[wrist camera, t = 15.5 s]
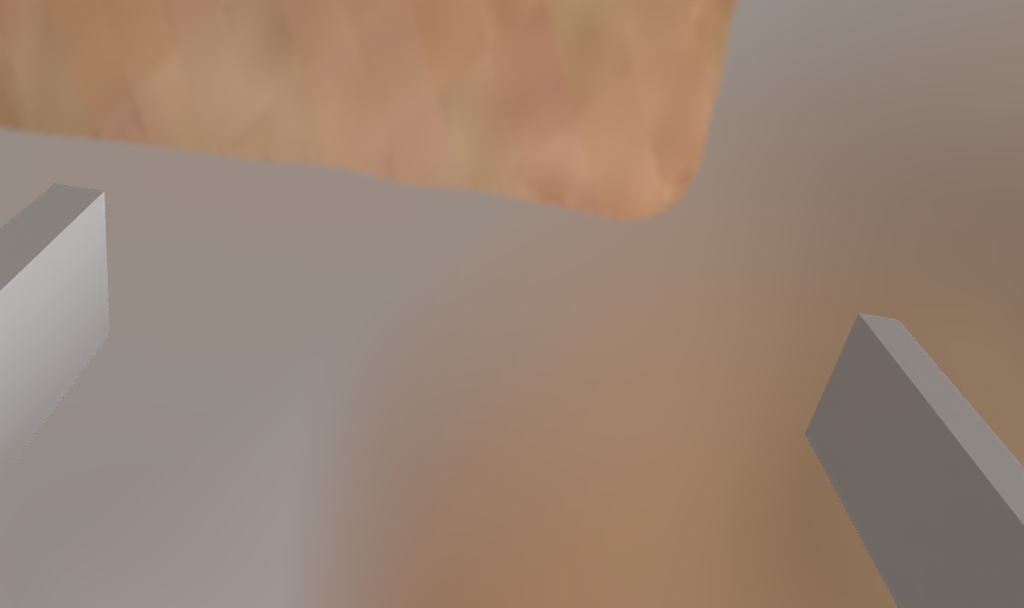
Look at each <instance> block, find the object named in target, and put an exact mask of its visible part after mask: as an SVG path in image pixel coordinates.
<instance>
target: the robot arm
mask: <svg viewBox="0 0 1024 608" xmlns="http://www.w3.org/2000/svg"><path fill="white" fill-rule="evenodd" d="M104 199H105V198H104V191H99V190H93V189H87V188H80V187H74V186H68V185H61V184H54V185H52V186H51V187H50V188H49V189H48V190H46V191H45V192H44V193H43V194H42V195H40V196H39V197H38V198H37V199H36V200H34V201H33V202H32V203H31V204H30V205H28V206H27V207H26V208H25V209H24V210H22V211H21V212H20V213H19V214H17V215H16V216H15V217H14V218H13V219H11V220H10V221H9V222H8V223H7V224H5V225H4V226H3V227H2V228H1V229H0V482H1V481H2V480H3V478H4V477H5V476H6V474H7V473H8V472H9V470H10V469H11V468H12V466H13V465H14V464H15V462H16V461H17V459H18V458H19V457H20V455H21V454H22V453H23V451H24V450H25V448H26V447H27V446H28V444H29V443H30V442H31V441H32V439H33V438H34V436H35V435H36V434H37V432H38V431H39V430H40V428H41V427H42V426H43V424H44V423H45V422H46V420H47V419H48V417H49V416H50V415H51V413H52V412H53V411H54V409H55V408H56V407H57V405H58V404H59V403H60V401H61V400H62V398H63V397H64V396H65V394H66V393H67V392H68V390H69V389H70V388H71V386H72V385H73V383H74V382H75V381H76V380H77V378H78V377H79V375H80V374H81V373H82V371H83V370H84V369H85V367H86V366H87V365H88V363H89V362H90V361H91V359H92V358H93V356H94V355H95V354H96V352H97V351H98V350H99V348H100V347H101V346H102V344H103V343H104V342H105V340H106V339H107V338H108V336H109V335H110V334H109V310H108V309H109V306H108V281H107V252H106V225H105V200H104ZM805 435H806V436H807V438H808V440H809V442H810V444H811V446H812V448H813V450H814V451H815V453H816V455H817V457H818V459H819V461H820V463H821V464H822V466H823V468H824V470H825V472H826V474H827V476H828V478H829V480H830V481H831V483H832V485H833V487H834V489H835V491H836V493H837V494H838V496H839V498H840V500H841V502H842V504H843V506H844V508H845V510H846V511H847V513H848V515H849V517H850V519H851V521H852V523H853V525H854V526H855V528H856V530H857V532H858V534H859V536H860V538H861V539H862V541H863V543H864V545H865V547H866V549H867V550H868V553H869V555H870V556H871V558H872V560H873V562H874V564H875V566H876V568H877V569H878V571H879V573H880V575H881V577H882V579H883V581H884V582H885V584H886V586H887V588H888V590H889V592H890V594H891V596H892V597H893V599H894V601H895V603H896V605H897V607H898V608H1024V467H1023V466H1022V465H1021V464H1020V463H1019V462H1018V460H1017V459H1016V458H1015V457H1014V456H1013V454H1012V453H1011V452H1010V451H1009V450H1008V448H1007V447H1006V446H1005V445H1004V444H1003V443H1002V442H1001V440H1000V439H999V438H998V437H997V435H996V434H995V433H994V432H993V431H992V430H991V428H990V427H989V426H988V425H987V424H986V423H985V421H984V420H983V419H982V418H981V417H980V415H979V414H978V413H977V412H976V411H975V410H974V408H973V407H972V406H971V405H970V404H969V403H968V401H967V400H966V399H965V398H964V397H963V395H962V394H961V393H960V392H959V391H958V390H957V388H956V387H955V386H954V385H953V384H952V382H951V381H950V380H949V379H948V378H947V377H946V376H945V374H944V373H943V372H942V371H941V370H940V368H939V367H938V366H937V365H936V364H935V362H934V361H933V360H932V359H931V358H930V357H929V355H928V354H926V352H925V351H924V349H923V348H922V347H921V346H920V345H919V344H918V343H917V341H916V340H915V339H914V338H913V336H911V334H910V333H909V332H908V331H907V329H906V328H905V327H904V326H903V325H902V324H901V322H900V321H899V320H897V319H892V318H886V317H879V316H873V315H867V314H861V313H858V316H857V318H856V320H855V322H854V325H853V327H852V329H851V331H850V334H849V336H848V338H847V340H846V343H845V345H844V347H843V349H842V352H841V354H840V356H839V358H838V361H837V363H836V365H835V367H834V370H833V372H832V374H831V377H830V379H829V381H828V383H827V385H826V388H825V390H824V392H823V394H822V397H821V399H820V401H819V403H818V406H817V408H816V410H815V412H814V415H813V417H812V419H811V421H810V424H809V426H808V428H807V430H806V433H805Z"/></svg>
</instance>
